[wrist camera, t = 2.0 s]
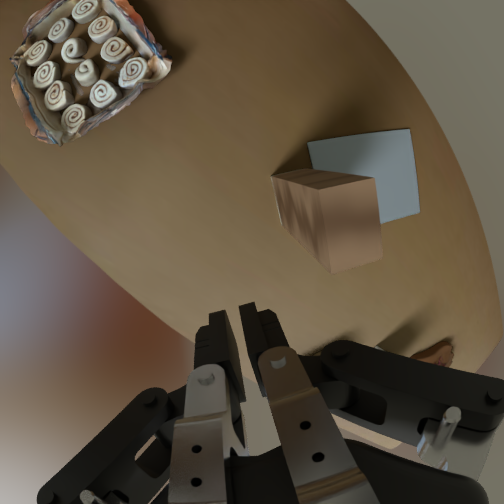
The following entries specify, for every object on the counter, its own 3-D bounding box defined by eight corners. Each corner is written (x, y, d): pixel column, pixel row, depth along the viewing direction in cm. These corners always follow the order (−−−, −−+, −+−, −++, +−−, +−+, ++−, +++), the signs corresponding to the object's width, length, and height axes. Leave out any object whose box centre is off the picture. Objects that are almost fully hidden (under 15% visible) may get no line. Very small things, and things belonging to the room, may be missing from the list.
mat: (306, 142, 36) (307, 142, 36) (407, 129, 37) (409, 129, 37) (325, 238, 41) (326, 238, 41) (418, 212, 42) (419, 212, 42)
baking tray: (2, 63, 24) (-15, 58, 19) (94, -27, 22) (84, -41, 17) (79, 175, 34) (61, 179, 29) (196, 68, 31) (193, 55, 26)
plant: (380, 414, 59) (398, 444, 48) (390, 362, 53) (416, 395, 42) (438, 386, 60) (459, 410, 50) (454, 333, 54) (482, 357, 43)
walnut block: (270, 176, 37) (318, 190, 20) (305, 168, 38) (374, 177, 21) (281, 225, 40) (331, 274, 23) (314, 216, 40) (382, 258, 23)
